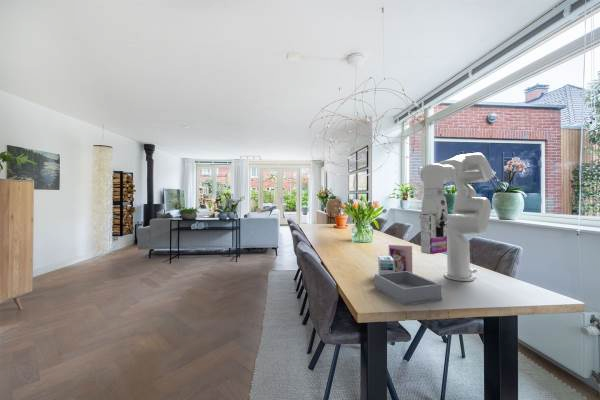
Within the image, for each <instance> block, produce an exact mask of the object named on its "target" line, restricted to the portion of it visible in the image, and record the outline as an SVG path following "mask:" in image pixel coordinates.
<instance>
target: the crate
mask: <svg viewBox="0 0 600 400" xmlns="http://www.w3.org/2000/svg"><path fill="white" fill-rule="evenodd" d="M374 288H375V289H376V290H378V291H379V292H381V293H383V294H384V295H386V296H388V297H390V298H391V299H393V300H394V301H397V302H398V303H399V304H400V305H403V306H410V305H411V306H412V305H417V304H423V303H424V304H425V303H430V302H431V303H432V302H437V301H442V300H443V291H442V284H441V283H439V282H436V281H434V280H430V279H428V278H425V277H424V276H421V275H418V274H416V273H413V272H412V273H411V272H408V271H402V272H392V273H383V274H379V273H375V274H374Z"/></svg>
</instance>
